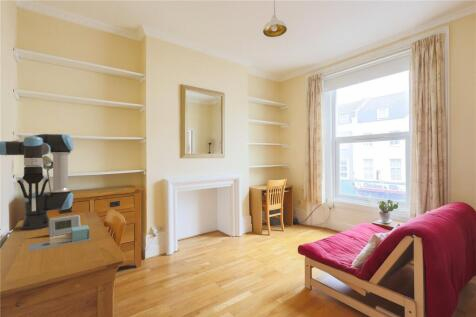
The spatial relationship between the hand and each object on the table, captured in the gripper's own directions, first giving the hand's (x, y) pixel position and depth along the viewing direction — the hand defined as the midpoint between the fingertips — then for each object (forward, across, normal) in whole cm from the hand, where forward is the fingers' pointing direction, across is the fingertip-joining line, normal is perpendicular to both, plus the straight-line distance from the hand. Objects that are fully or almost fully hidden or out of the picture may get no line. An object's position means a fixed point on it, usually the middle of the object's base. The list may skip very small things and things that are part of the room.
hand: (33, 210), depth 125 cm
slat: (+19, +14, -1) cm, 23 cm away
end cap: (+19, +20, -1) cm, 28 cm away
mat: (+20, +11, -2) cm, 23 cm away
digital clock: (+20, +14, +17) cm, 30 cm away
